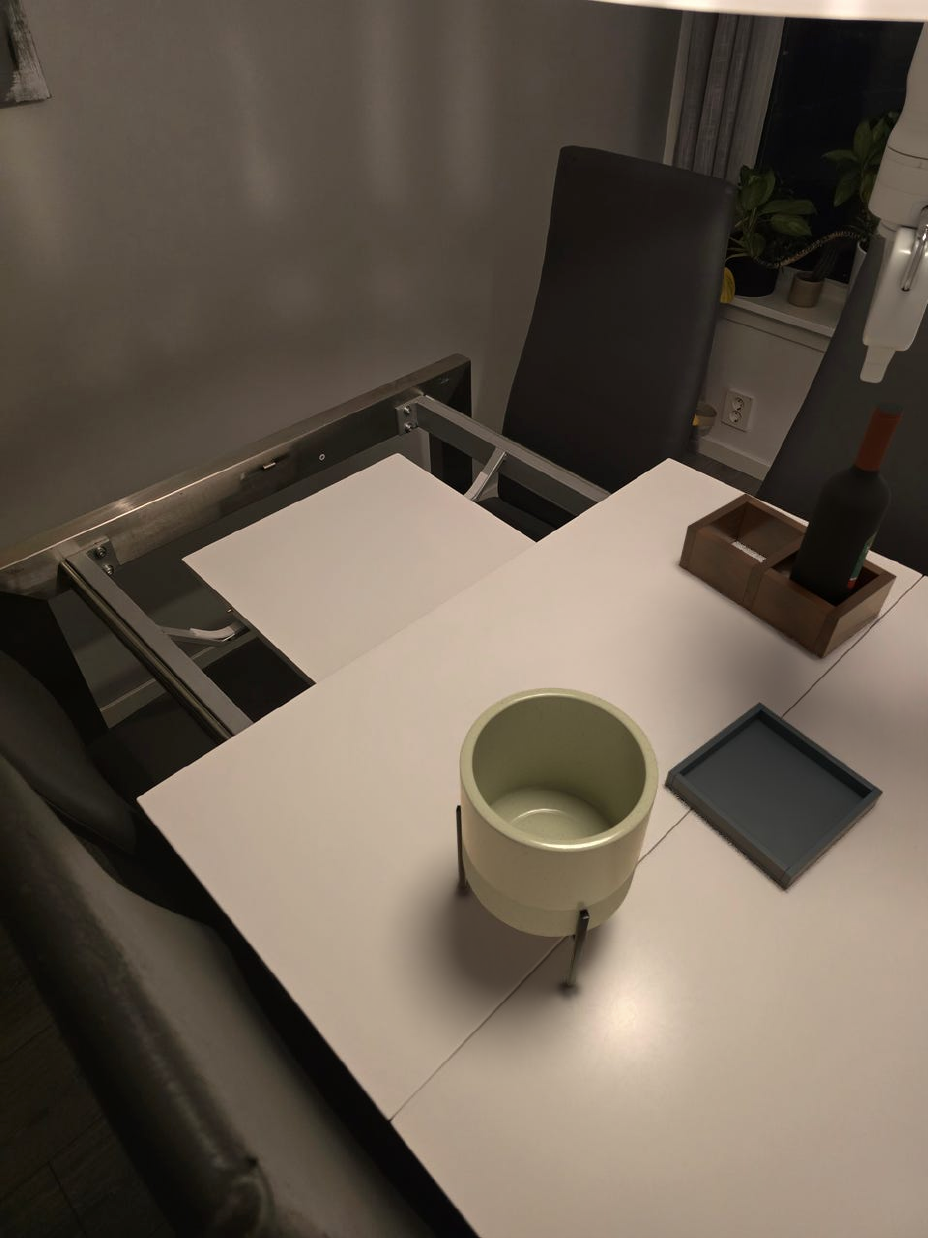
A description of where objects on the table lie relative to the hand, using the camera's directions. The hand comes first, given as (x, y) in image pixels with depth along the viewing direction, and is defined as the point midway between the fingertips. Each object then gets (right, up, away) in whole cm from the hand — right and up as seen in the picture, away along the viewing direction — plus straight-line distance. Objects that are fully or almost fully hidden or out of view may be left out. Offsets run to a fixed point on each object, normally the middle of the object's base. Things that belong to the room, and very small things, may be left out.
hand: (875, 356), depth 71 cm
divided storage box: (+5, -20, +37) cm, 42 cm away
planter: (-30, -51, +5) cm, 60 cm away
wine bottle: (+9, -23, +33) cm, 42 cm away
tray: (-5, -43, +13) cm, 45 cm away
